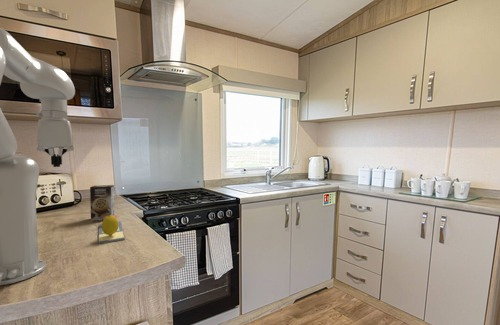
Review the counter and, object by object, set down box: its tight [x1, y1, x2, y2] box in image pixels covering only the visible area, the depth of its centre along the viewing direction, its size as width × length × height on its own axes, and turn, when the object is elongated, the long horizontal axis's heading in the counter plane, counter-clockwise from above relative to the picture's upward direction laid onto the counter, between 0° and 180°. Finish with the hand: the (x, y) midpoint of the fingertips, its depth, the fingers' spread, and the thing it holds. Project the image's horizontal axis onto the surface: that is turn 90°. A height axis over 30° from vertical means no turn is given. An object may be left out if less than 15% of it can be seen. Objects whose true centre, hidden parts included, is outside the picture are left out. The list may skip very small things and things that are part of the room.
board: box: [97, 220, 126, 245], centre depth 101 cm, size 26×8×2 cm, turn 30°
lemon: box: [101, 215, 119, 236], centre depth 94 cm, size 6×6×8 cm
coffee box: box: [89, 184, 116, 222], centre depth 121 cm, size 9×6×16 cm
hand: (56, 166), depth 93 cm, fingers closed
